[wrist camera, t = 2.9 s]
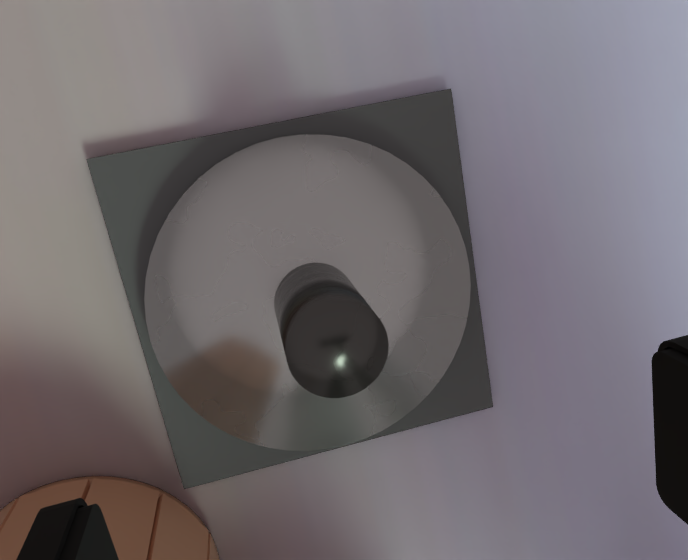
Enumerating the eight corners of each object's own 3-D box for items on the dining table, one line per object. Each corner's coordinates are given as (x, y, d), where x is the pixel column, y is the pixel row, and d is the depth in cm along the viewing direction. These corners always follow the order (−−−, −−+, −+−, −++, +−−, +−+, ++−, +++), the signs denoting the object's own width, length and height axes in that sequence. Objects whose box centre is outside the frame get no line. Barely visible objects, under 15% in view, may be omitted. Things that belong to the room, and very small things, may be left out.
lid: (439, 104, 22) (508, 96, 17) (481, 398, 26) (550, 473, 20) (105, 172, 21) (59, 188, 15) (194, 474, 24) (183, 579, 18)
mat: (447, 89, 23) (451, 88, 22) (489, 402, 26) (492, 406, 26) (89, 158, 21) (86, 159, 21) (184, 483, 24) (184, 488, 24)
